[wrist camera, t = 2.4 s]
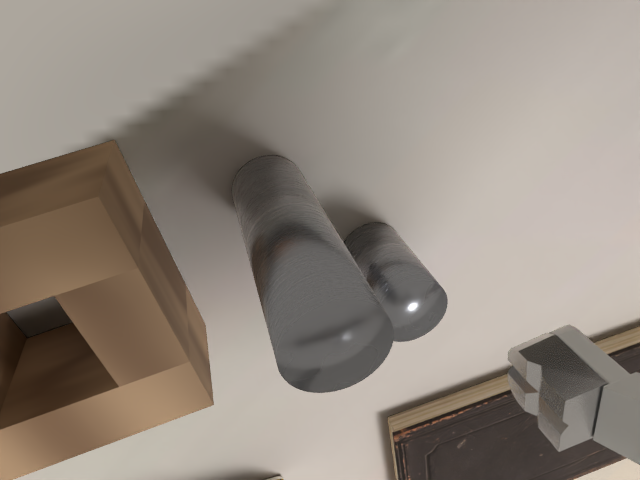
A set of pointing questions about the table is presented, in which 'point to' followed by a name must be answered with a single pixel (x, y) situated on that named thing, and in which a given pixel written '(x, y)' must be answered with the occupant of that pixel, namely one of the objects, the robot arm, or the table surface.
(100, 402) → the hole block
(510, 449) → the hardcover book
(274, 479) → the medicine bottle
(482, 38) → the table surface
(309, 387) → the long pin
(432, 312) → the short pin
